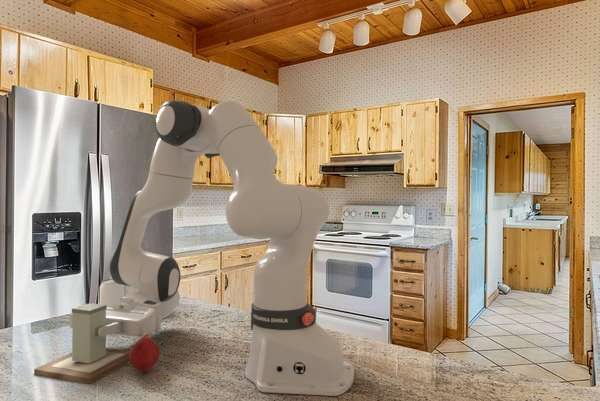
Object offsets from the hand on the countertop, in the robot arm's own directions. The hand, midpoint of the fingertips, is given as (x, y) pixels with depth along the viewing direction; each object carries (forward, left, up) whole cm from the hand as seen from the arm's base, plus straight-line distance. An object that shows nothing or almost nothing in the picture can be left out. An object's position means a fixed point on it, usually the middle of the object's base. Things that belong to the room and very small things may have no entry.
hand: (86, 331), depth 86 cm
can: (+17, -27, -8) cm, 33 cm away
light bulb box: (+16, -40, -8) cm, 44 cm away
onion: (-14, -1, -8) cm, 16 cm away
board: (0, -1, -7) cm, 8 cm away
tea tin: (0, -1, -6) cm, 6 cm away
